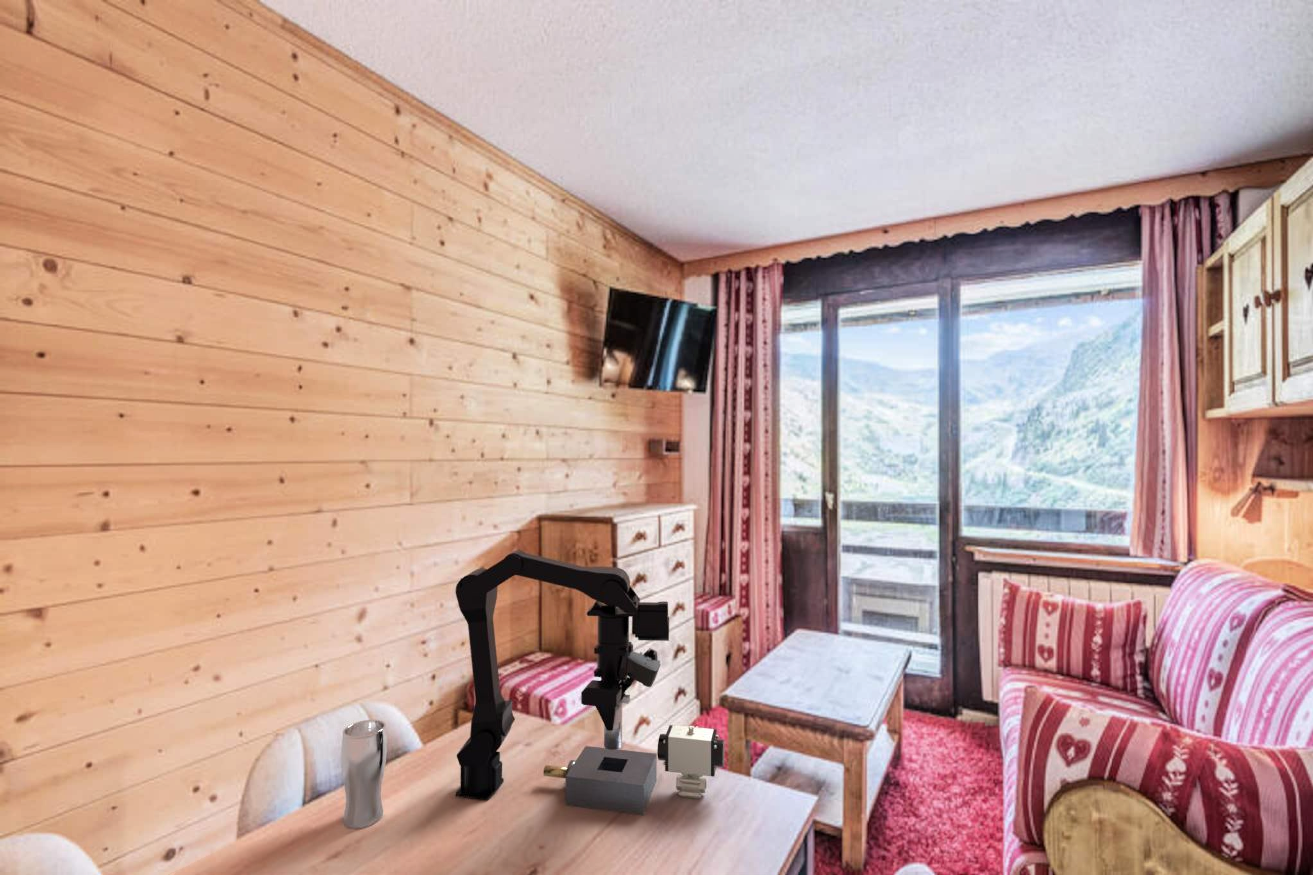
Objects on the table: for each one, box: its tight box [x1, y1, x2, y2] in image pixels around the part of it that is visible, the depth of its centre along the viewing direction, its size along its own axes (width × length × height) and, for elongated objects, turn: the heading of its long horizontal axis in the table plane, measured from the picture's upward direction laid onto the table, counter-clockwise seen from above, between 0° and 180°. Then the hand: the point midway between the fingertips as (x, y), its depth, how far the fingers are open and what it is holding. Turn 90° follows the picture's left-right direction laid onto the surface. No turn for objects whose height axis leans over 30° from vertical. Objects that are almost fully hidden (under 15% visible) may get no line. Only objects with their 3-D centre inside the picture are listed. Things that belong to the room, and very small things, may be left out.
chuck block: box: [543, 745, 658, 816], centre depth 110 cm, size 20×11×5 cm, turn 78°
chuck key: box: [603, 694, 631, 750], centre depth 109 cm, size 6×3×9 cm, turn 78°
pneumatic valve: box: [656, 724, 726, 800], centre depth 110 cm, size 6×12×12 cm, turn 78°
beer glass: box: [340, 719, 388, 830], centre depth 102 cm, size 7×7×15 cm
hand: (612, 725), depth 109 cm, fingers closed on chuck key, 3 cm apart
